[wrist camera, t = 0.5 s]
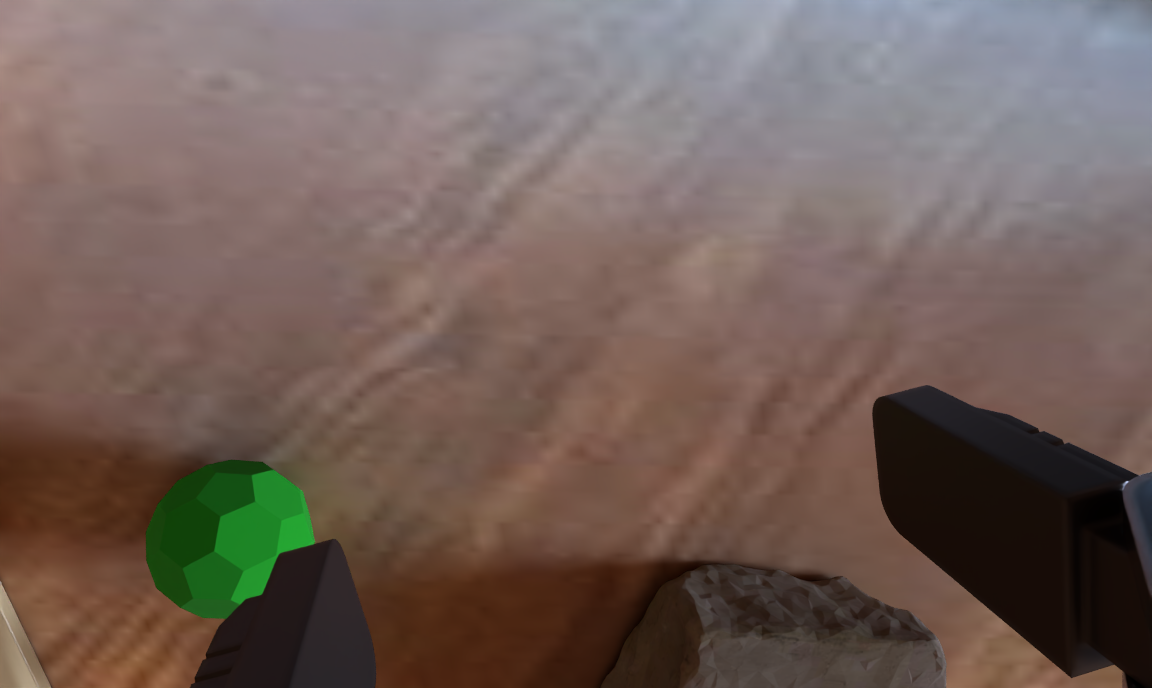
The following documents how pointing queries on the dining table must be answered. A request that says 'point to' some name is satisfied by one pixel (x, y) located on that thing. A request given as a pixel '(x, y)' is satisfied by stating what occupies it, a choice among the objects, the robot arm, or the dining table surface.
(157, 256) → the dining table surface
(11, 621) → the compartment tray
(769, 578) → the marble piece
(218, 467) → the polyhedron
